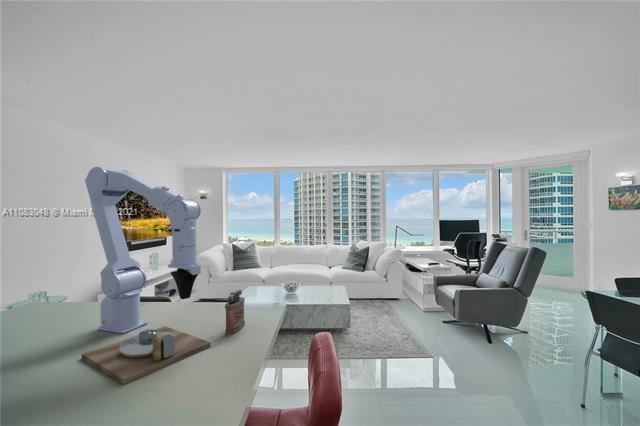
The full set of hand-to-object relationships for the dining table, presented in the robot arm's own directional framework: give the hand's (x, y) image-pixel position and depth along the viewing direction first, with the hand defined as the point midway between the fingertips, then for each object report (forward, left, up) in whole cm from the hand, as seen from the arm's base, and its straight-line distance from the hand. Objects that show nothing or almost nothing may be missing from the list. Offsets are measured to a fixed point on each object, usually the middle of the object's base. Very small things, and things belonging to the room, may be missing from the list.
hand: (185, 298), depth 82 cm
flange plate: (+1, -12, -8) cm, 14 cm away
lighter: (+11, +7, -10) cm, 16 cm away
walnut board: (0, -11, -9) cm, 15 cm away
